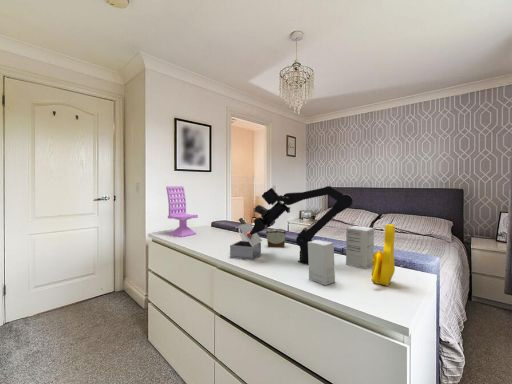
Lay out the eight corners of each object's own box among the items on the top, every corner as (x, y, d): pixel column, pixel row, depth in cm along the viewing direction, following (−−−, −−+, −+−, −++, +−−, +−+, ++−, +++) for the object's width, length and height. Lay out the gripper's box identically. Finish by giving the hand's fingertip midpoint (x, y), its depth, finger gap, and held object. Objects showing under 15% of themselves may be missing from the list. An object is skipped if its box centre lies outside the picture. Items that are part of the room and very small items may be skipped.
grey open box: (260, 253, 133) (260, 242, 133) (252, 260, 122) (252, 247, 122) (240, 251, 137) (240, 240, 137) (230, 257, 126) (230, 245, 126)
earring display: (181, 237, 173) (181, 186, 172) (165, 234, 182) (165, 186, 181) (197, 234, 185) (197, 186, 184) (181, 231, 195) (181, 186, 194)
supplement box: (354, 260, 122) (354, 225, 121) (374, 264, 116) (374, 227, 115) (345, 264, 115) (345, 227, 115) (366, 269, 109) (366, 230, 108)
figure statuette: (375, 273, 103) (376, 220, 103) (397, 278, 99) (398, 221, 98) (366, 288, 89) (366, 226, 88) (391, 294, 84) (392, 228, 84)
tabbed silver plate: (260, 241, 133) (264, 239, 132) (252, 246, 122) (256, 244, 121) (244, 217, 136) (247, 215, 135) (234, 220, 125) (237, 217, 124)
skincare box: (335, 282, 94) (335, 242, 94) (324, 286, 91) (324, 244, 90) (317, 275, 101) (318, 238, 101) (307, 279, 97) (307, 240, 97)
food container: (286, 245, 152) (286, 228, 152) (286, 247, 146) (286, 230, 145) (266, 244, 153) (266, 228, 153) (265, 247, 147) (265, 230, 147)
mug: (257, 242, 160) (257, 226, 160) (254, 245, 151) (254, 228, 151) (240, 241, 162) (240, 225, 161) (236, 244, 153) (236, 227, 153)
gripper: (270, 198, 134) (250, 218, 138) (258, 200, 116) (235, 222, 120) (284, 214, 131) (263, 233, 136) (274, 219, 114) (250, 241, 118)
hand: (253, 232), depth 127 cm, fingers open, 8 cm apart
